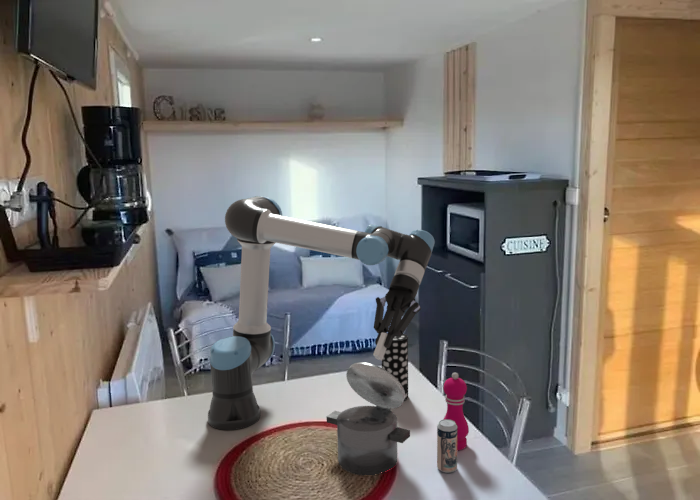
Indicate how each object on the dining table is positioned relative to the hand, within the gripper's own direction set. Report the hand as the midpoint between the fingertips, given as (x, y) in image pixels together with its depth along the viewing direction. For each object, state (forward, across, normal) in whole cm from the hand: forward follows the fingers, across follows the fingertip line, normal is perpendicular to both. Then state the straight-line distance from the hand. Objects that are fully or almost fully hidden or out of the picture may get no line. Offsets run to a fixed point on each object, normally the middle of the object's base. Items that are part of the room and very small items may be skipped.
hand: (377, 357), depth 146 cm
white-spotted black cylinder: (-4, +12, -40) cm, 42 cm away
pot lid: (+7, 0, -5) cm, 8 cm away
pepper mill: (+9, -16, -27) cm, 32 cm away
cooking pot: (+22, 0, -14) cm, 26 cm away
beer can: (+18, -19, -18) cm, 32 cm away
